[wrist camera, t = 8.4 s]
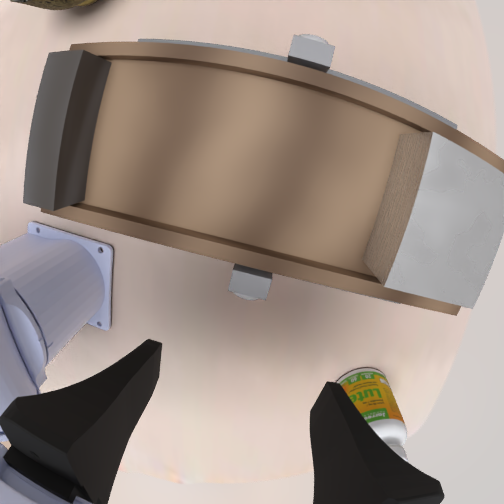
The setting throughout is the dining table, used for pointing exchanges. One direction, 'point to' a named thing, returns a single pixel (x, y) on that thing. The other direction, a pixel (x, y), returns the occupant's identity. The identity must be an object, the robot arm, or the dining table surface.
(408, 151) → the block
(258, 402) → the dining table surface
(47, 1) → the cup
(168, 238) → the seesaw beam
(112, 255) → the robot arm
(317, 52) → the stand
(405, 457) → the supplement bottle
